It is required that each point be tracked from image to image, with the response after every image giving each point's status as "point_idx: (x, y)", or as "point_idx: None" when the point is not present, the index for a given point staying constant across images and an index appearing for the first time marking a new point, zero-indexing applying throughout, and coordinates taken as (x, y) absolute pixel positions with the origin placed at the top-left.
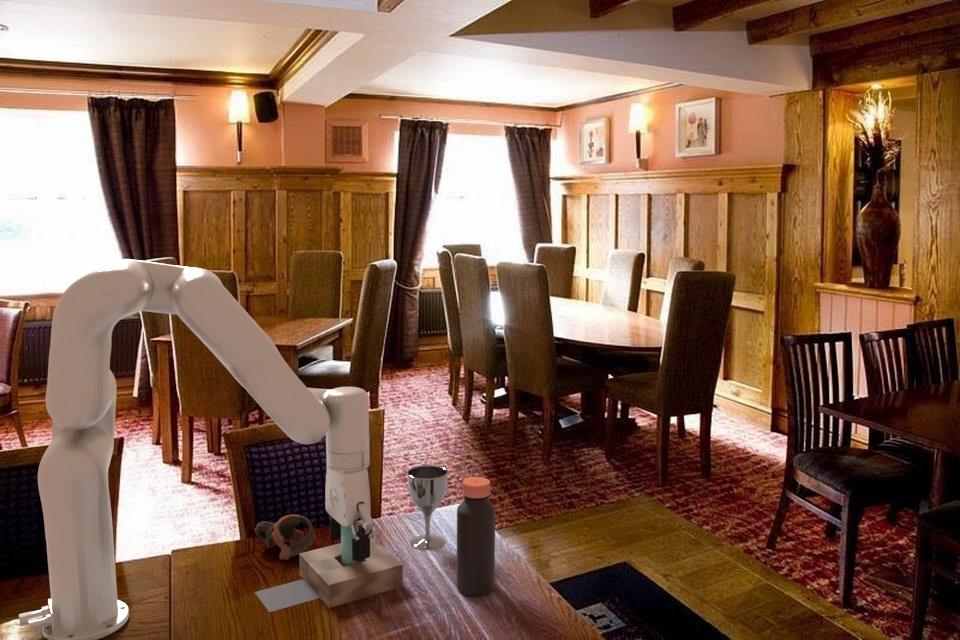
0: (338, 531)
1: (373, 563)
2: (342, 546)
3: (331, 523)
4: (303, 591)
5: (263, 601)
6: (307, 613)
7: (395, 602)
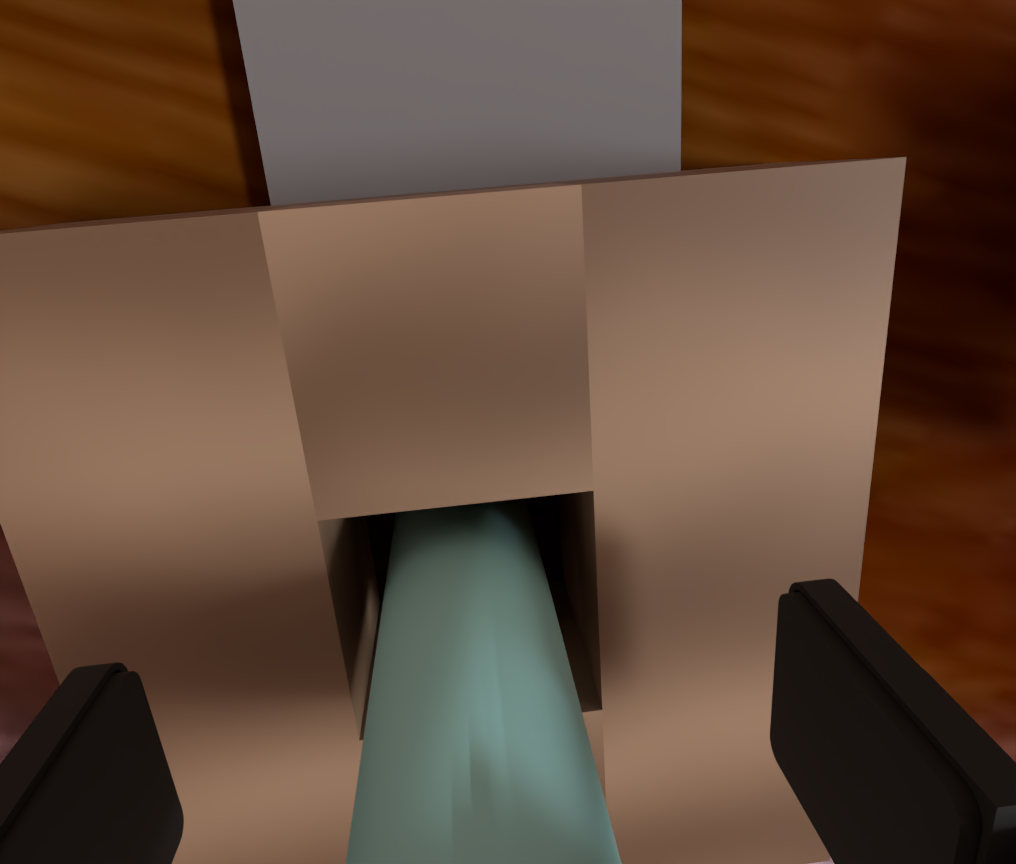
0: (830, 732)
1: (275, 774)
2: (446, 657)
3: (953, 763)
4: (449, 93)
5: None
6: (66, 13)
7: (38, 688)
